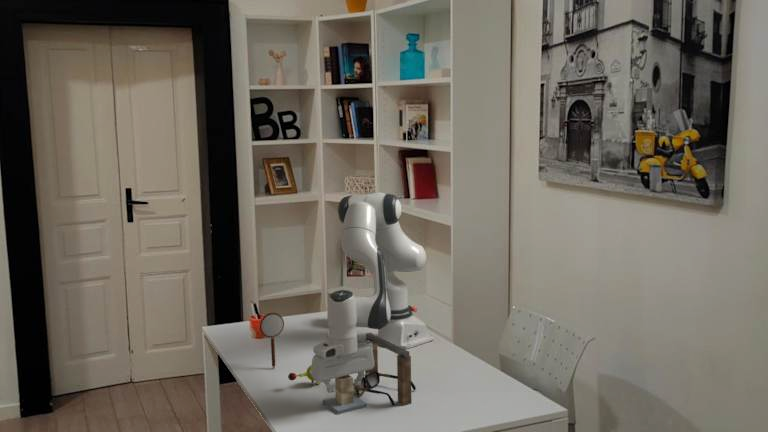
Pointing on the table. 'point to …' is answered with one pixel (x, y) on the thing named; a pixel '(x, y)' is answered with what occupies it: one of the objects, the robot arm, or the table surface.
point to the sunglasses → (375, 383)
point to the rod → (387, 345)
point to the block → (344, 389)
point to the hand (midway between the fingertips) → (344, 388)
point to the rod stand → (398, 375)
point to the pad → (340, 408)
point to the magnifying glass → (272, 329)
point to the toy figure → (293, 376)
